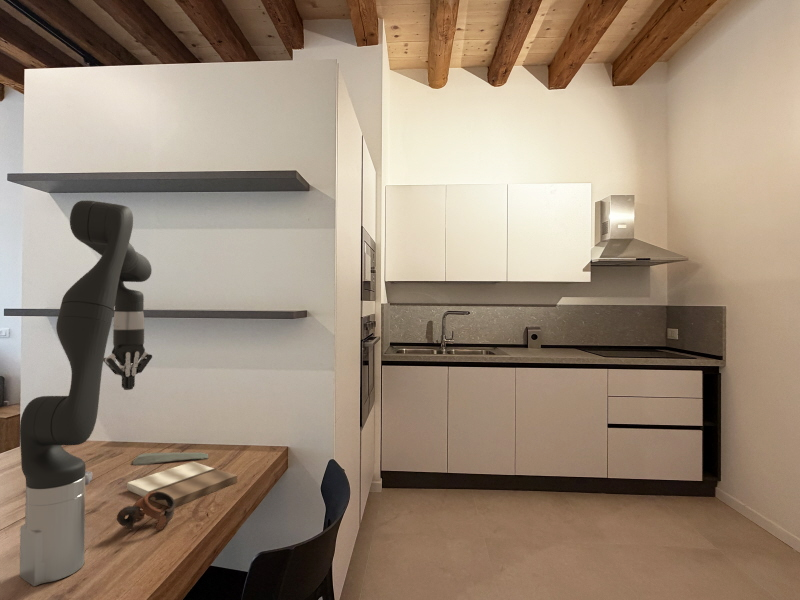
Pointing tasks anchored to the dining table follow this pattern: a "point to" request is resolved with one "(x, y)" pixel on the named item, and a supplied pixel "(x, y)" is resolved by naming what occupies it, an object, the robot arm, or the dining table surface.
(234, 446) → the dining table surface
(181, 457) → the stone slab
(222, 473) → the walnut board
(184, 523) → the dining table surface
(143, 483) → the ash plank
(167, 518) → the brown ringed bracket
